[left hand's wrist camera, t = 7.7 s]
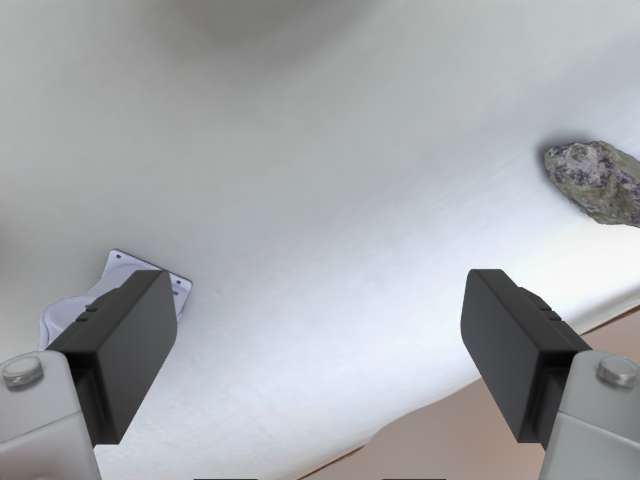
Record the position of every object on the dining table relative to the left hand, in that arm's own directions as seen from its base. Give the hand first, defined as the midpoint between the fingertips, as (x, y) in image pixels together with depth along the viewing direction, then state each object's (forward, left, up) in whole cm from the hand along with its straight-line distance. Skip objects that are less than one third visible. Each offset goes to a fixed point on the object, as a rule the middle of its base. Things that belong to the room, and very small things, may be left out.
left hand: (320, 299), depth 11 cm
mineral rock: (+17, +24, -32) cm, 44 cm away
